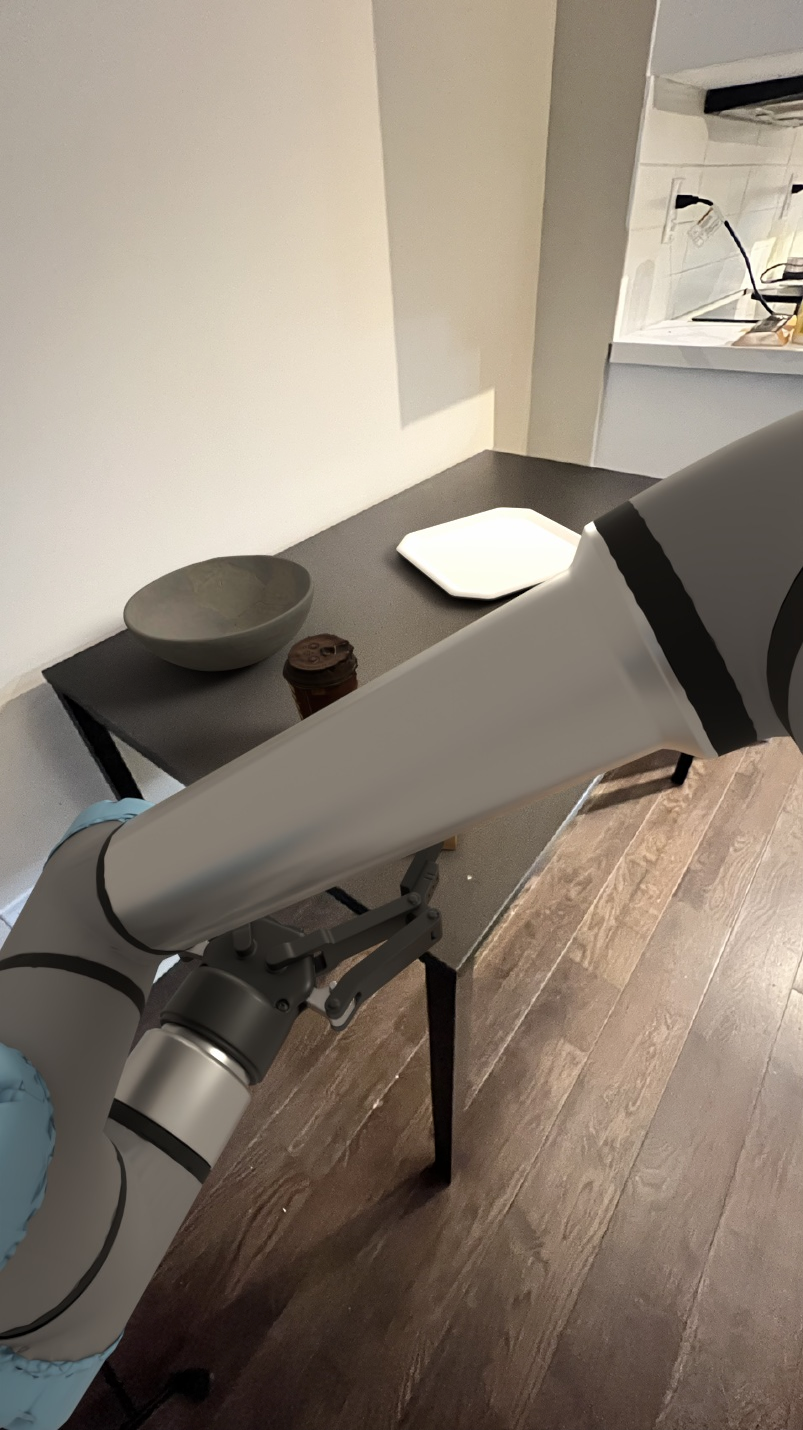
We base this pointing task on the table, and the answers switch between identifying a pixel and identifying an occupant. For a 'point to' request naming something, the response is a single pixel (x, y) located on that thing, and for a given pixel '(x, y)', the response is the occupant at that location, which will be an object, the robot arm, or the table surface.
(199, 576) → the bowl
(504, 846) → the table surface
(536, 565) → the plate
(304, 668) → the coffee cup
